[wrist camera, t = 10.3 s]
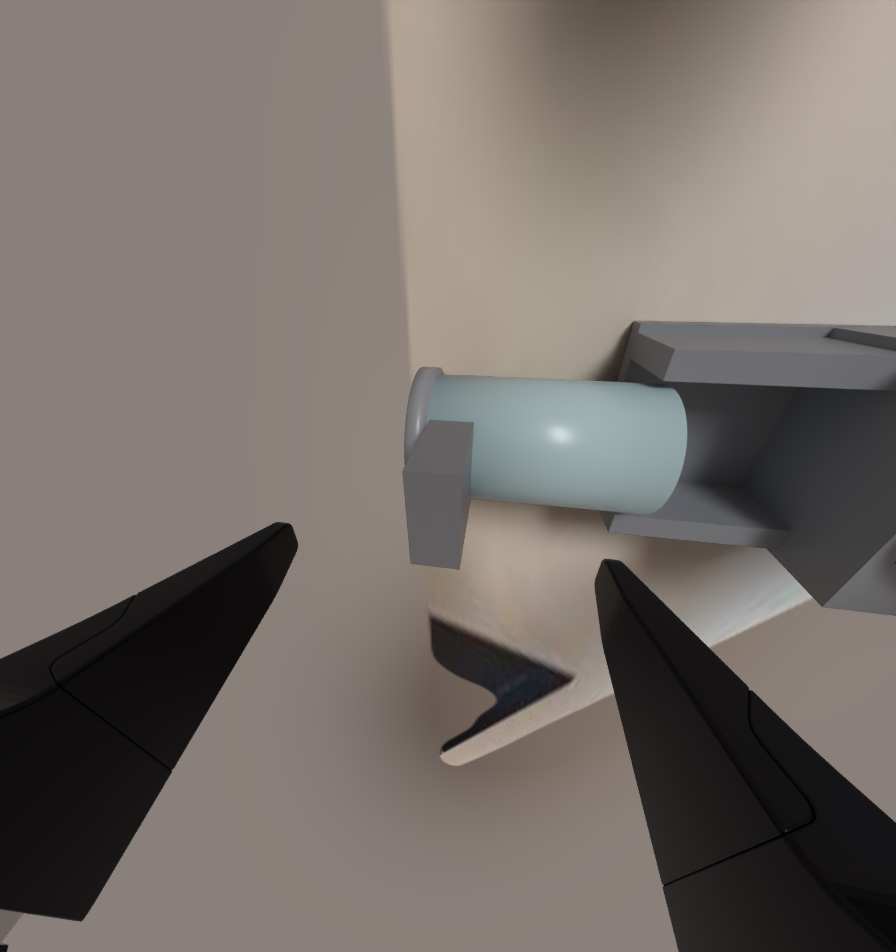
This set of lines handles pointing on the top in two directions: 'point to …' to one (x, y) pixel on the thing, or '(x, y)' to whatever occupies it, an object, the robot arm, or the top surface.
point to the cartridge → (533, 450)
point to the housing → (782, 448)
